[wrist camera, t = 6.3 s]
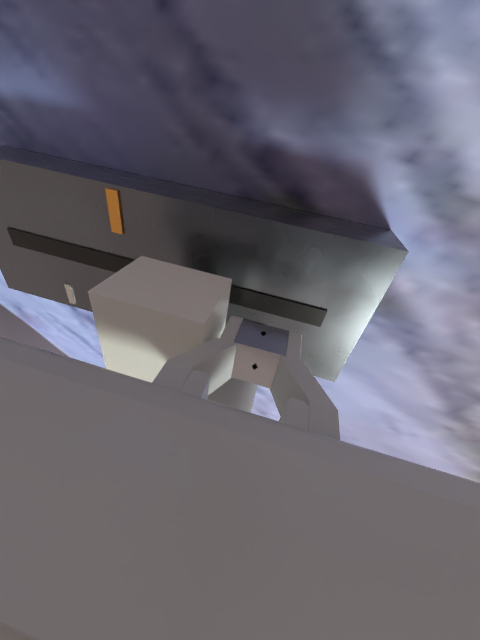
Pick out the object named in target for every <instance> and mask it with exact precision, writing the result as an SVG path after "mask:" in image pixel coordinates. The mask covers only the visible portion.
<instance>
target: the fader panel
mask: <svg viewBox="0 0 480 640" xmlns="http://www.w3.org/2000/svg"><path fill="white" fill-rule="evenodd" d="M407 253H408V250H407V249H406V248H405V247H404V245H403V244H402V243H401V242H400V240H399V239H398V238H397V237H396V235H395V234H394V233H393V232H392V230H387V229H383V228H378V227H374V226H369V225H365V224H360V223H356V222H351V221H346V220H342V219H337V218H333V217H328V216H324V215H319V214H315V213H310V212H306V211H301V210H296V209H292V208H287V207H283V206H278V205H274V204H269V203H265V202H260V201H256V200H251V199H246V198H242V197H237V196H233V195H228V194H224V193H219V192H215V191H210V190H205V189H201V188H196V187H192V186H187V185H183V184H178V183H174V182H169V181H165V180H160V179H155V178H151V177H146V176H142V175H137V174H133V173H128V172H124V171H119V170H114V169H110V168H105V167H101V166H96V165H92V164H87V163H83V162H78V161H74V160H69V159H64V158H60V157H55V156H51V155H46V154H42V153H37V152H33V151H28V150H24V149H19V148H14V147H10V146H5V145H0V269H1V272H2V274H3V276H4V278H5V281H6V283H7V285H8V287H9V288H12V289H15V290H18V291H22V292H25V293H29V294H32V295H36V296H39V297H43V298H46V299H50V300H53V301H57V302H60V303H63V304H67V305H70V306H74V307H77V308H81V309H84V310H88V311H91V312H93V311H92V307H91V303H90V299H89V295H88V291H89V290H90V289H92V288H93V287H95V286H96V285H98V284H100V283H101V282H103V281H104V280H106V279H107V278H109V277H110V276H112V275H113V274H115V273H116V272H118V271H119V270H121V269H122V268H124V267H125V266H127V265H128V264H130V263H131V262H133V261H134V260H136V259H137V258H139V257H140V256H144V257H148V258H152V259H156V260H160V261H164V262H168V263H172V264H175V265H179V266H183V267H187V268H191V269H195V270H199V271H203V272H207V273H211V274H214V275H218V276H222V277H226V278H230V279H232V283H231V290H230V296H229V303H228V310H227V317H226V324H227V322H228V320H229V318H230V316H232V315H234V316H238V317H241V318H243V319H244V318H245V319H248V320H252V321H255V322H259V323H262V324H266V325H269V326H273V327H276V328H280V329H284V330H288V331H289V330H290V331H294V332H298V333H301V334H302V343H301V356H300V361H303V362H304V363H305V364H306V366H307V367H308V369H309V370H310V371H311V373H312V374H313V376H316V377H320V378H323V379H327V380H330V381H334V382H335V380H336V378H337V376H338V375H339V373H340V371H341V369H342V368H343V366H344V364H345V362H346V361H347V359H348V357H349V355H350V354H351V352H352V350H353V348H354V347H355V345H356V343H357V341H358V339H359V338H360V336H361V334H362V332H363V331H364V329H365V327H366V325H367V324H368V322H369V320H370V318H371V317H372V315H373V313H374V311H375V310H376V308H377V306H378V304H379V303H380V301H381V299H382V297H383V296H384V294H385V292H386V290H387V288H388V287H389V285H390V283H391V281H392V280H393V278H394V276H395V274H396V273H397V271H398V269H399V267H400V266H401V264H402V262H403V260H404V259H405V257H406V255H407ZM226 324H225V326H226Z"/></svg>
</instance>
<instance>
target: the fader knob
mask: <svg viewBox="0 0 480 640" xmlns="http://www.w3.org/2000/svg"><path fill="white" fill-rule="evenodd" d="M231 283H232V279H230V278H226V277H222V276H218V275H214V274H211V273H207V272H203V271H199V270H195V269H191V268H187V267H183V266H179V265H175V264H172V263H168V262H164V261H160V260H156V259H152V258H148V257H144V256H140V257H139V258H137V259H136V260H134V261H133V262H131V263H130V264H128V265H127V266H125V267H124V268H122V269H121V270H119V271H118V272H116V273H115V274H113V275H112V276H110V277H109V278H107V279H106V280H104V281H103V282H101V283H100V284H98V285H96V286H95V287H93V288H92V289H90V290H89V291H88V295H89V299H90V303H91V307H92V311H93V316H94V320H95V324H96V328H97V332H98V337H99V341H100V345H101V349H102V353H103V357H104V362H105V366H106V369H109V370H112V371H115V372H118V373H122V374H125V375H128V376H132V377H135V378H138V379H141V380H145V381H148V382H151V383H152V382H153V380H154V379H155V377H156V376H157V375H158V373H159V372H160V370H161V369H162V367H163V366H164V364H165V363H166V361H167V360H169V359H171V358H173V357H175V356H177V355H179V354H182V353H184V352H186V351H188V350H190V349H192V348H195V347H197V346H199V345H201V344H203V343H205V342H208V341H210V340H212V339H214V338H220V336H221V334H222V332H223V330H224V328H225V324H226V317H227V310H228V303H229V296H230V290H231Z"/></svg>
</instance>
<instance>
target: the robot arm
mask: <svg viewBox="0 0 480 640" xmlns="http://www.w3.org/2000/svg"><path fill="white" fill-rule="evenodd" d="M301 343H302V334H301V333H298V332H294V331H290V330H289V331H288V330H284V329H280V328H276V327H273V326H269V325H266V324H262V323H259V322H255V321H252V320H248V319H245V318H244V319H243V318H241V317H238V316H234V315H232V316H230V318H229V320H228V322H227V324H226V326H225V328H224V330H223V332H222V334H221V336H220V338H214V339H212V340H210V341H208V342H205V343H203V344H201V345H199V346H197V347H195V348H192V349H190V350H188V351H186V352H184V353H182V354H179V355H177V356H175V357H173V358H171V359H169V360H167V361H166V363H165V364H164V366H163V367H162V369H161V370H160V372H159V373H158V375H157V376H156V377H155V379H154V380H153V382H152V383H151V382H148V381H145V380H141V379H138V378H135V377H132V376H128V375H125V374H122V373H118V372H115V371H112V370H109V369H105V368H102V367H99V366H96V365H92V364H89V363H86V362H83V361H79V360H76V359H73V358H69V357H66V356H63V355H60V354H56V353H53V352H50V351H47V350H43V349H40V348H37V347H34V346H30V345H27V344H24V343H20V342H17V341H14V340H11V339H8V338H4V337H1V336H0V640H480V483H478V482H474V481H471V480H468V479H465V478H461V477H458V476H455V475H452V474H448V473H445V472H442V471H439V470H435V469H432V468H429V467H425V466H422V465H419V464H416V463H412V462H409V461H406V460H403V459H399V458H396V457H393V456H390V455H386V454H383V453H380V452H376V451H373V450H370V449H366V448H363V447H360V446H357V445H353V444H350V443H347V442H344V441H340V433H339V419H338V410H337V409H336V407H335V406H334V404H333V403H332V401H331V400H330V399H329V397H328V396H327V394H326V393H325V391H324V390H323V389H322V387H321V386H320V384H319V383H318V381H317V380H316V379H315V377H314V376H313V374H312V373H311V371H310V370H309V369H308V367H307V366H306V364H305V363H304V362H303V361H300V356H301ZM231 377H232V378H236V379H240V380H244V381H248V382H251V383H254V384H257V385H261V386H264V387H267V388H270V391H271V393H272V396H273V398H274V401H275V403H276V406H277V408H278V411H279V413H280V416H281V418H280V420H279V421H275V420H272V419H269V418H266V417H262V416H259V415H256V414H252V413H249V412H246V411H243V410H239V409H236V408H233V407H230V406H226V405H223V404H220V403H216V402H213V401H210V400H207V399H208V395H209V394H211V393H212V392H213V391H215V390H216V389H217V388H219V387H220V386H221V385H223V384H224V383H225V382H226V381H228V380H229V379H230V378H231Z"/></svg>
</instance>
